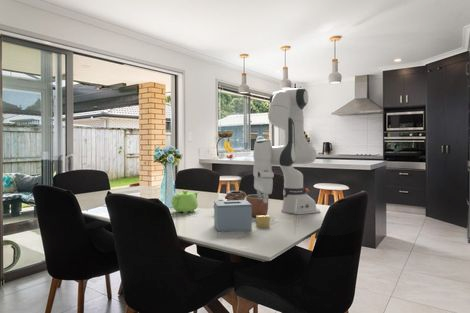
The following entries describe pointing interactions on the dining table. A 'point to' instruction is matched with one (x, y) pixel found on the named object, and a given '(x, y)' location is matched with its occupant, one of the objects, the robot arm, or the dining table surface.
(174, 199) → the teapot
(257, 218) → the block
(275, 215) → the dining table surface
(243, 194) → the decorative box
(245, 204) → the moneybox
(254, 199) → the planter
